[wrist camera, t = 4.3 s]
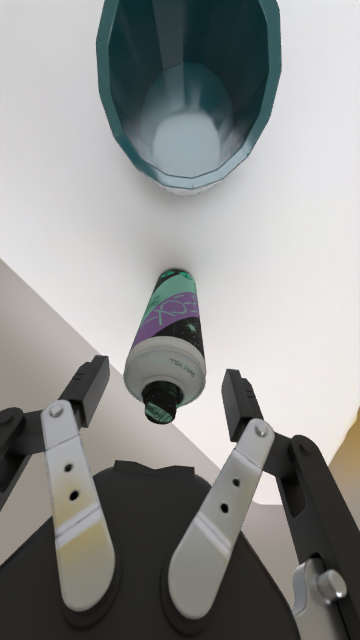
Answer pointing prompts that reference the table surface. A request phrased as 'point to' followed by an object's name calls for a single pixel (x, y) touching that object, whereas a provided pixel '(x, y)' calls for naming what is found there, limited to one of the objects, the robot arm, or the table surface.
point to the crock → (188, 84)
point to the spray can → (168, 349)
